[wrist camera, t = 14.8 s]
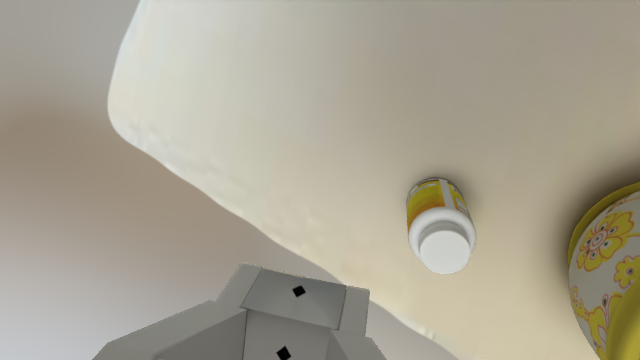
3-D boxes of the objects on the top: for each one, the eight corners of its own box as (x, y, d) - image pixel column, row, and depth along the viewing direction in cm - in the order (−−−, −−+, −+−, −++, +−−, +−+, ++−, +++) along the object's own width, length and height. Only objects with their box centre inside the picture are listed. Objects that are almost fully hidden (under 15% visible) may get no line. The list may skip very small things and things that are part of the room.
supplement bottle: (398, 217, 45) (398, 269, 35) (417, 169, 43) (423, 211, 33) (450, 234, 44) (464, 292, 35) (472, 187, 42) (494, 235, 33)
